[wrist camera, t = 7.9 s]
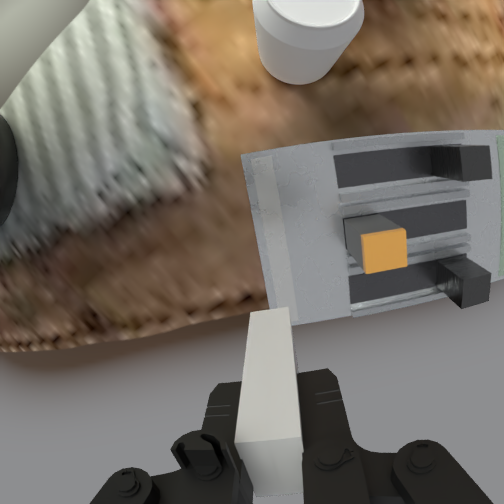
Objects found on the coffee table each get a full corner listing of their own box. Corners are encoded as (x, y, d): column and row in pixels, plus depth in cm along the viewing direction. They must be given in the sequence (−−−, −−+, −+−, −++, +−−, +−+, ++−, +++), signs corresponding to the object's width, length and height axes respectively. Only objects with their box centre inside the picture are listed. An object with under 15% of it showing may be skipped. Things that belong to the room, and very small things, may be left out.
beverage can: (244, 63, 24) (226, 3, 12) (282, 11, 22) (289, -67, 10) (308, 101, 24) (338, 61, 13) (345, 47, 23) (391, -14, 11)
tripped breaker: (347, 249, 25) (366, 274, 20) (343, 219, 25) (363, 237, 19) (381, 243, 25) (407, 266, 20) (378, 214, 24) (405, 229, 19)
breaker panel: (273, 317, 30) (273, 361, 23) (242, 154, 26) (233, 154, 19) (502, 270, 27) (540, 294, 21) (499, 130, 23) (544, 130, 17)
